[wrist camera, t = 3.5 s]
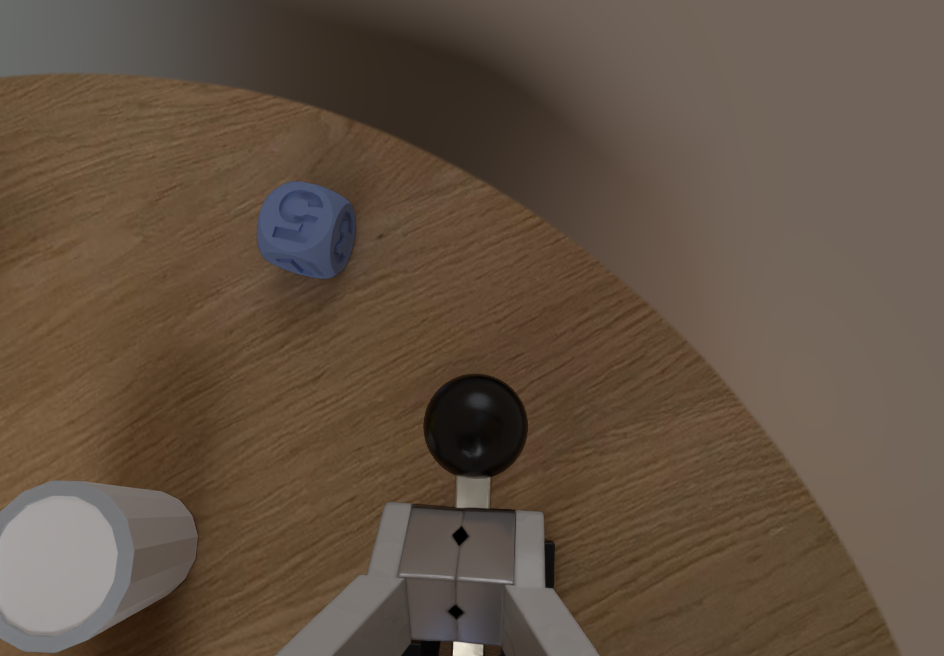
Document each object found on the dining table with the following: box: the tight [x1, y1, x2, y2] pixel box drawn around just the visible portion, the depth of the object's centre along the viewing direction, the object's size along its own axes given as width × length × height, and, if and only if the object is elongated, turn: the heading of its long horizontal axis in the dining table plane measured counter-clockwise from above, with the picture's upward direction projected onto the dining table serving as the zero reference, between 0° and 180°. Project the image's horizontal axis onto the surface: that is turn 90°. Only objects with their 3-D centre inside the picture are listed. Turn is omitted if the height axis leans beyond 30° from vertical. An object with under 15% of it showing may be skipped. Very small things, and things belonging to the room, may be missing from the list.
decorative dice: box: [257, 181, 356, 279], centre depth 34 cm, size 4×4×4 cm
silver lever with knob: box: [423, 374, 528, 656], centre depth 20 cm, size 13×3×3 cm, turn 177°
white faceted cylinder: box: [0, 481, 198, 653], centre depth 30 cm, size 7×7×7 cm
